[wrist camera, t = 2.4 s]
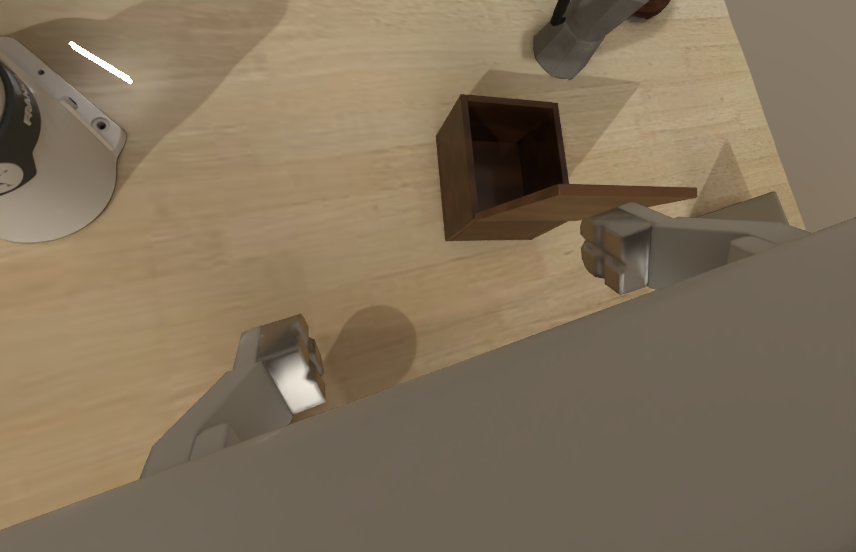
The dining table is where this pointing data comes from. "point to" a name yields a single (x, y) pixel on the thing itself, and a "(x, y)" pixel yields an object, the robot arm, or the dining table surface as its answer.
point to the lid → (581, 202)
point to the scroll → (651, 8)
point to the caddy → (497, 163)
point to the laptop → (753, 210)
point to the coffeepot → (578, 33)
